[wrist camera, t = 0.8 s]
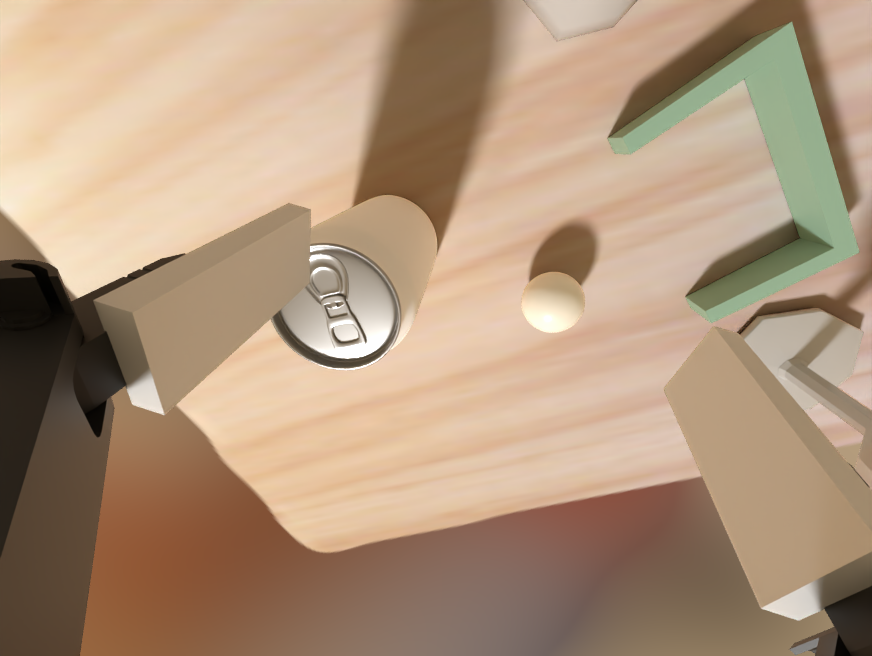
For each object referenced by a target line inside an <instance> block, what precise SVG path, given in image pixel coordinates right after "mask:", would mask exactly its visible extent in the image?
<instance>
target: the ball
mask: <svg viewBox="0 0 872 656" xmlns="http://www.w3.org/2000/svg"><path fill="white" fill-rule="evenodd" d="M521 306H522V311H523V314H524V316H525V318H526V319H527V321H528V322H529V323H530V324H531V325H532V326H533V327H535V328H537V329H539V330H541V331H544V332H550V333H555V332H561V331H564V330H567V329H569V328H570V327H572V326H573V325H574V324H575V323H576V322H577V321H578V320H579V319H580V317H581V315H582V313H583V311H584V307H585V296H584V292H583V290H582V288H581V286H580V285H579V283H578V282H577V281H576V280H575V279H574V278H572V277H571V276H569V275H567V274H564V273H561V272H547V273H543V274H540V275H538V276H537V277H535V278H534V279H532V280H531V281H530V282H529V283H528V285H527V286H526V288H525V289H524V292H523V295H522V299H521Z"/></svg>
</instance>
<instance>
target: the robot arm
mask: <svg viewBox="0 0 872 656" xmlns="http://www.w3.org/2000/svg"><path fill="white" fill-rule="evenodd" d="M310 235H311V209H307V208H304V207H300V206H297V205H293V204H290V203H288V204H286V205H284V206H282V207H280V208H278V209H276V210H274V211H272V212H270V213H268V214H266V215H264V216H262V217H260V218H258V219H256V220H254V221H252V222H250V223H248V224H246V225H244V226H242V227H240V228H238V229H236V230H234V231H232V232H230V233H228V234H226V235H224V236H222V237H220V238H218V239H216V240H214V241H212V242H210V243H208V244H205V245H203V246H201V247H199V248H197V249H195V250H193V251H191V252H189V253H187V254H185V253H184V254H180V255H175V256H171V257H167V258H162V259H160V260H158V261H156V262H154V263H151V264H149V265H147V266H145V267H143V270H140V269H139V270H137V271H135V272H132V273H130V274H128V276H127V277H122V278H120V279H118V280H116V281H114V282H111V283H109V284H107V285H105V286H103V287H101V288H99V289H97V290H95V291H93V292H90V293H88V294H86V295H84V296H82V297H80V298H78V299H76V300H74V301H72V302H71V301H70V298H69V296H68V293H67V291H66V288H65V286H64V284H63V281H62V279H61V276H60V274H59V272H58V269H57V268H55V267H53V266H52V265H50V264H49V263H43V262H40V261H35V260H5V261H0V656H80V650H81V643H82V636H83V629H84V622H85V614H86V608H87V600H88V593H89V585H90V579H91V572H92V565H93V558H94V551H95V543H96V536H97V529H98V522H99V514H100V508H101V501H102V493H103V486H104V479H105V472H106V464H107V458H108V451H109V443H110V436H111V429H112V422H113V415H114V404H113V400H112V398H111V396H112V395H114V394H115V393H116V392H118V391H119V390H120V389H122V388H123V387H124V386H126V389H127V391H128V394H129V397H130V399H131V402H132V405H135V406H138V407H142V408H144V409H147V410H150V411H153V412H156V413H160V414H163V415H165V414H166V413H167V412H168V411H170V409H172V408H173V407H174V406H175V405H176V404H177V403H178V402H179V401H181V400H182V399H183V398H184V397H185V396H186V395H187V394H188V393H189V392H190V391H192V390H193V389H194V388H195V387H196V386H197V385H198V384H199V383H200V382H201V381H203V380H204V379H205V378H206V377H207V376H208V375H209V374H210V373H211V372H212V371H214V370H215V369H216V368H217V367H218V366H219V365H220V364H221V363H222V362H223V361H225V360H226V359H227V358H228V357H229V356H230V355H231V354H232V353H233V352H234V351H236V350H237V349H238V348H239V347H240V346H241V345H242V344H243V343H244V342H245V341H246V340H248V339H249V338H250V337H251V336H252V335H253V334H254V333H255V332H256V331H257V330H259V329H260V328H261V327H262V326H263V325H264V324H265V323H266V322H267V321H268V320H270V319H271V318H272V317H273V316H274V315H275V314H276V313H277V312H278V311H279V310H281V309H282V308H283V307H284V306H285V305H286V304H287V303H288V302H289V301H290V300H292V299H293V298H294V297H295V296H296V295H297V294H298V293H299V292H300V291H301V290H303V289H304V288H305V287H306V286H307V285H308V284H309V283H310ZM664 392H665V394H666V396H667V398H668V401H669V403H670V405H671V407H672V410H673V412H674V414H675V416H676V419H677V421H678V423H679V425H680V428H681V430H682V432H683V434H684V437H685V439H686V441H687V443H688V446H689V448H690V450H691V452H692V455H693V457H694V459H695V461H696V464H697V466H698V468H699V470H700V473H701V475H702V477H703V479H704V482H705V484H706V486H707V488H708V491H709V493H710V495H711V497H712V499H713V502H714V504H715V506H716V509H717V511H718V513H719V515H720V518H721V520H722V522H723V524H724V527H725V529H726V531H727V533H728V535H729V538H730V540H731V542H732V545H733V547H734V549H735V551H736V554H737V556H738V558H739V560H740V563H741V565H742V567H743V569H744V572H745V574H746V576H747V578H748V580H749V583H750V585H751V587H752V589H753V592H754V594H755V596H756V599H757V601H758V603H759V605H760V607H761V608H762V609H764V610H768V611H771V612H774V613H777V614H780V615H783V616H786V617H789V618H792V619H795V620H801V619H803V618H806V617H808V616H810V615H812V614H814V613H817V612H819V611H821V610H823V609H825V611H826V612H827V614H828V616H829V617H830V619H831V621H832V623H833V624H834V627H833V628H831V629H828V630H826V631H823V632H821V633H819V634H816V635H814V636H811V637H809V638H806V639H804V640H802V641H799V642H796V643H794V644H793V646H792V647H791V648H790V650H791V651H792V652H793V653H794V654H795V655H797V654H800V653H802V652H805V651H812V652H813V653H815V656H872V491H871V489H870V487H869V486H868V484H867V483H866V482H865V481H864V480H863V479H862V477H861V476H860V475H859V474H858V473H857V471H856V470H855V469H854V468H853V467H852V466H851V465H850V464H849V463H848V462H847V461H846V460H845V459H844V458H843V456H842V455H841V454H840V453H839V452H838V450H837V449H836V448H835V447H834V446H833V445H832V443H831V442H830V441H829V440H828V439H827V437H826V436H825V435H824V434H823V433H822V432H821V430H820V429H819V428H818V427H817V426H816V424H815V423H814V422H813V421H812V420H811V419H810V417H809V416H808V415H807V414H806V413H805V411H804V410H803V409H802V408H801V407H800V406H799V404H798V403H797V402H796V401H795V400H794V398H793V397H792V396H791V395H790V394H789V392H788V391H787V390H786V389H785V388H784V387H783V385H782V384H781V383H780V382H779V381H778V379H777V378H776V377H775V376H774V375H773V374H772V372H771V371H770V370H769V369H768V368H767V366H766V365H765V364H764V363H763V362H762V361H761V359H760V358H759V357H758V356H757V355H756V353H755V352H754V351H753V350H752V349H751V348H750V346H749V345H748V344H747V343H746V342H745V340H744V339H743V338H742V337H741V336H740V335H739V333H736V332H733V331H729V330H726V329H722V328H719V327H715V326H713V327H712V328H711V330H710V331H709V332H708V333H707V335H706V336H705V337H704V338H703V340H702V341H701V342H700V344H699V345H698V346H697V347H696V349H695V350H694V351H693V352H692V354H691V355H690V356H689V357H688V359H687V360H686V361H685V362H684V364H683V365H682V366H681V367H680V369H679V370H678V371H677V372H676V374H675V375H674V376H673V377H672V379H671V380H670V381H669V382H668V384H667V385H666V386H665V387H664Z"/></svg>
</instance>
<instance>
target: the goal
mask: <svg viewBox="0 0 872 656" xmlns="http://www.w3.org/2000/svg"><path fill="white" fill-rule="evenodd" d="M743 79H745V82H746V85H747V88H748V91H749V93H750V96H751V99H752V102H753V105H754V108H755V111H756V113H757V116H758V119H759V122H760V125H761V128H762V131H763V134H764V136H765V139H766V142H767V145H768V148H769V151H770V154H771V157H772V159H773V162H774V165H775V168H776V171H777V174H778V177H779V180H780V182H781V185H782V188H783V191H784V194H785V197H786V200H787V203H788V205H789V208H790V211H791V214H792V217H793V220H794V223H795V226H796V228H797V231H798V234H799V237H800V238H799V239H797V240H795V241H794V242H792V243H790V244H788V245H786V246H784V247H782V248H780V249H778V250H776V251H774V252H772V253H770V254H768V255H766V256H764V257H762V258H760V259H758V260H756V261H754V262H752V263H750V264H748V265H747V266H745V267H743V268H741V269H739V270H737V271H735V272H733V273H731V274H729V275H727V276H725V277H723V278H721V279H719V280H717V281H715V282H713V283H711V284H709V285H707V286H705V287H703V288H701V289H699V290H698V291H696V292H694V293H692V294H690V295H688V296H686V299H687V301H688V303H689V305H690V308H691V309H693V310H694V311H695V312H697V313H698V314H699V315H701V316H702V317H703V318H705V319H706V320H707V321H709V322H710V323H713V322H715V321H717V320H719V319H721V318H723V317H725V316H727V315H730V314H732V313H734V312H736V311H738V310H740V309H742V308H744V307H746V306H748V305H751V304H753V303H755V302H757V301H759V300H761V299H763V298H765V297H767V296H769V295H772V294H774V293H776V292H778V291H780V290H782V289H784V288H786V287H788V286H790V285H792V284H795V283H797V282H799V281H801V280H803V279H805V278H807V277H809V276H811V275H813V274H816V273H818V272H820V271H822V270H824V269H826V268H828V267H830V266H832V265H834V264H836V263H839V262H841V261H843V260H845V259H847V258H849V257H851V256H853V255H855V254H857V253H859V249H858V246H857V242H856V239H855V235H854V232H853V229H852V225H851V222H850V218H849V215H848V212H847V208H846V205H845V201H844V198H843V194H842V191H841V188H840V184H839V181H838V177H837V174H836V171H835V167H834V164H833V160H832V157H831V153H830V150H829V147H828V143H827V140H826V136H825V133H824V130H823V126H822V123H821V119H820V116H819V112H818V109H817V106H816V102H815V99H814V95H813V92H812V89H811V85H810V82H809V78H808V75H807V71H806V68H805V65H804V61H803V58H802V54H801V51H800V48H799V44H798V41H797V37H796V34H795V31H794V27H793V24H792V22H790V23H787V24H785V25H782V26H780V27H777V28H774V29H772V30H769V31H767V32H764V33H762V34H759V35H757V36H754V37H753V38H752V39H750V40H749V41H747V42H746V43H744V44H743V45H741V46H740V47H739V48H737V49H736V50H734V51H733V52H731V53H730V54H728V55H727V56H726V57H724V58H723V59H721V60H720V61H718V62H717V63H716V64H714V65H713V66H711V67H710V68H708V69H707V70H705V71H704V72H703V73H701V74H700V75H698V76H697V77H695V78H694V79H692V80H691V81H690V82H688V83H687V84H685V85H684V86H682V87H681V88H679V89H678V90H677V91H675V92H674V93H672V94H671V95H669V96H668V97H666V98H665V99H664V100H662V101H661V102H659V103H658V104H656V105H655V106H653V107H652V108H651V109H649V110H648V111H646V112H645V113H643V114H642V115H640V116H639V117H638V118H636V119H635V120H633V121H632V122H630V123H629V124H627V125H626V126H625V127H623V128H622V129H620V130H619V131H617V132H616V133H614V134H613V135H612V136H610V137H609V138H607V139H608V141H609V143H610V145H611V147H612V149H613V151H614V153H615V154H632V153H633V152H635V151H637V150H638V149H640V148H641V147H643V146H644V145H646V144H647V143H649V142H650V141H652V140H653V139H655V138H656V137H658V136H659V135H661V134H662V133H664V132H665V131H667V130H668V129H670V128H671V127H673V126H674V125H676V124H677V123H679V122H680V121H682V120H683V119H685V118H686V117H688V116H689V115H691V114H692V113H694V112H695V111H697V110H698V109H700V108H701V107H703V106H704V105H706V104H707V103H709V102H710V101H712V100H713V99H715V98H716V97H718V96H719V95H721V94H722V93H724V92H725V91H727V90H728V89H730V88H731V87H733V86H734V85H736V84H737V83H739V82H740V81H742V80H743Z"/></svg>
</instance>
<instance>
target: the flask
mask: <svg viewBox="0 0 872 656" xmlns="http://www.w3.org/2000/svg"><path fill="white" fill-rule="evenodd" d="M636 1H637V0H524V2H525V3H526V4H527V5H528V7H529V8H530V9H531V10H532V12H533V13H534V14H535V15H536V16H537V18H538V19H539V20H540V21H541V23H542V24H543V25H544V26H545V27H546V29H547V30H548V31H549V32H550V34H551V35H552V36H553V37H554V38H555V40H556V41H560V40H564V39H568V38H572V37H576V36H580V35H584V34H588V33H592V32H596V31H600V30H604V29H608V28H612V27H614V26H615V25H616V24H617V22H618V21H619V20H620V19H621V18H622V17H623V16H624V15H625V14H626V12H627V11H628V10H629V9H630V8H631V7H632V6H633V5H634V4H635V2H636Z"/></svg>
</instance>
